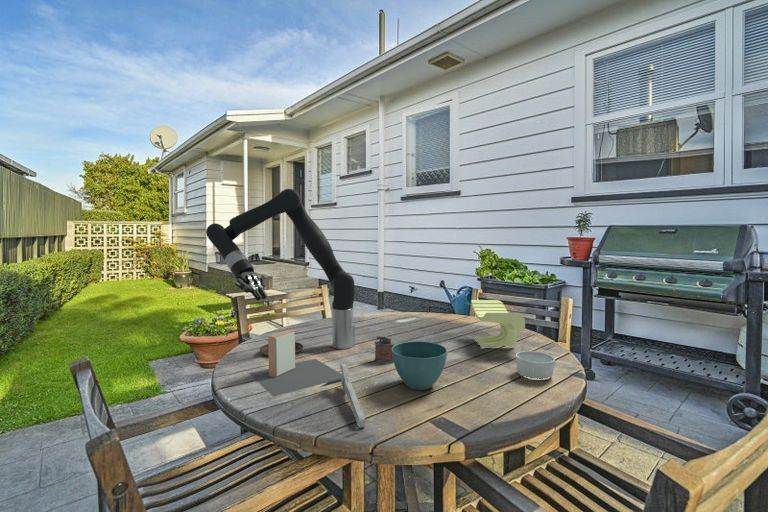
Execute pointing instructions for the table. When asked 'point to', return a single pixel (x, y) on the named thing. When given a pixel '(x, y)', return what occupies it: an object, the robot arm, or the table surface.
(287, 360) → the tan rectangular block
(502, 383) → the table surface
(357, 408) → the wrench
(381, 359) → the lighter
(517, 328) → the slatted curved stool
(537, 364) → the ramekin
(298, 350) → the plant saucer
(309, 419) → the table surface
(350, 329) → the robot arm
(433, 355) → the teal bowl
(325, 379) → the mat
